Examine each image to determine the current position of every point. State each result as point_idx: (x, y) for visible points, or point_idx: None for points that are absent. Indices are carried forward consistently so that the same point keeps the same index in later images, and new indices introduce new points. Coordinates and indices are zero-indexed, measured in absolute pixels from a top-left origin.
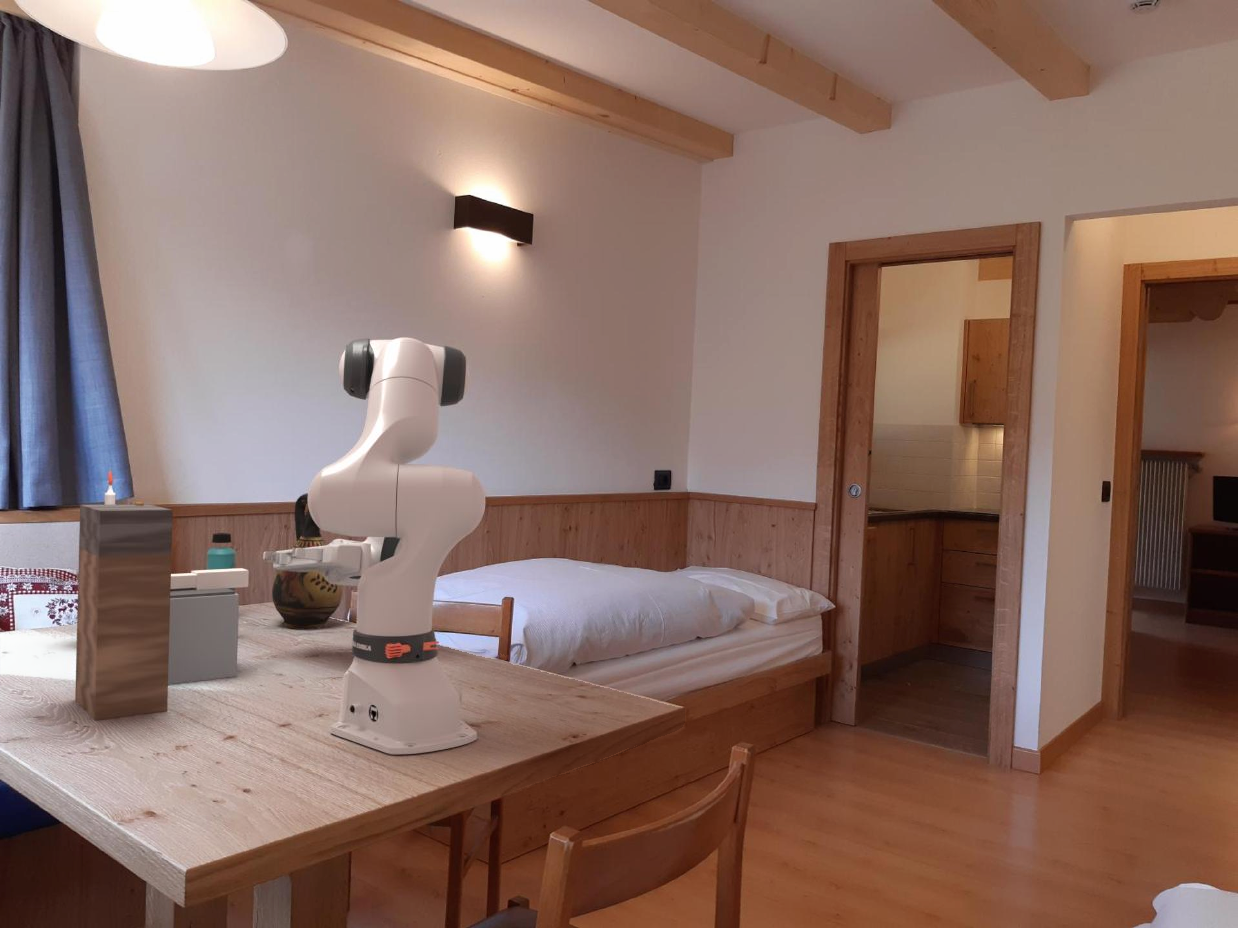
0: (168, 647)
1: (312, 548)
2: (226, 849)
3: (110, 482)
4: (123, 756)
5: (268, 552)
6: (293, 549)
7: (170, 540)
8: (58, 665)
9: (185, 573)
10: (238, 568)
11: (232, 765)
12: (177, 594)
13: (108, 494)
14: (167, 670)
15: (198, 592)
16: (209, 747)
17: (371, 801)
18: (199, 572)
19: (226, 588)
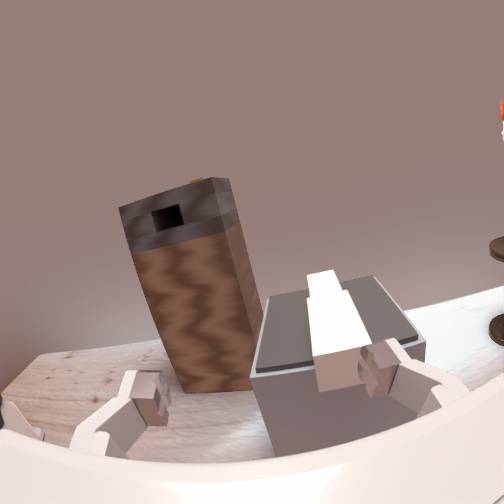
0: (163, 344)
1: (157, 462)
2: (35, 361)
3: (501, 116)
4: (123, 362)
5: (361, 348)
6: (156, 371)
7: (127, 239)
8: (423, 326)
9: (341, 290)
10: (367, 338)
11: (67, 385)
12: (273, 314)
13: (502, 133)
14: (171, 363)
15: (278, 330)
16: (94, 388)
17: (5, 393)
18: (313, 299)
19: (309, 359)
